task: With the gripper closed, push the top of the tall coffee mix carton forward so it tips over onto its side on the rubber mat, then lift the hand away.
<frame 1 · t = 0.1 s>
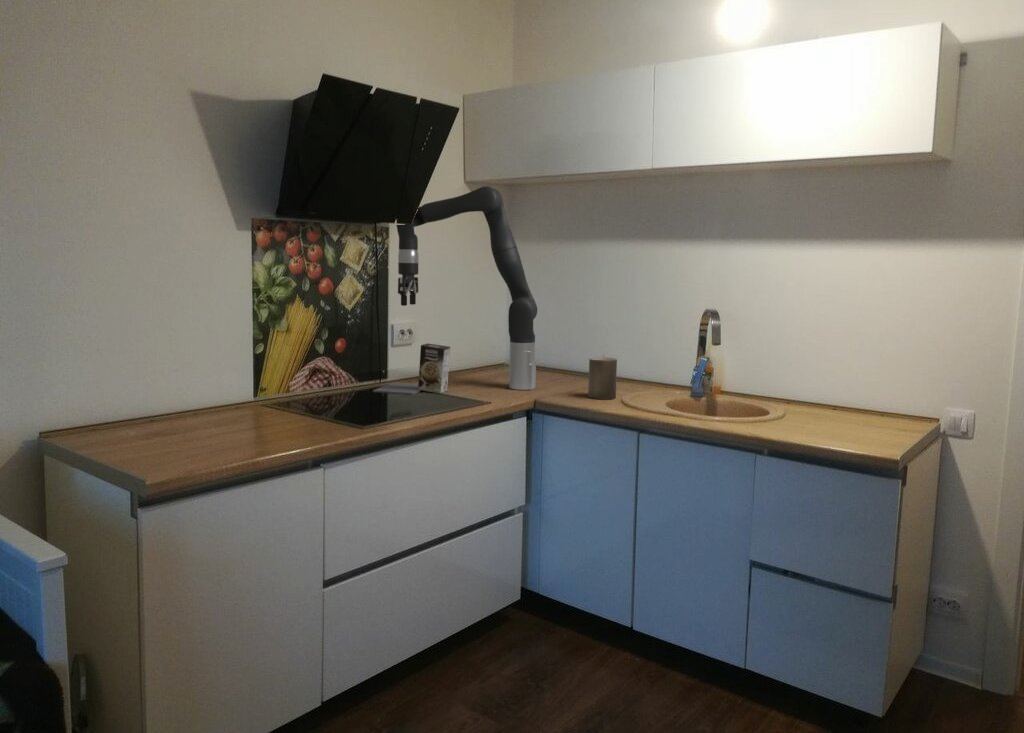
hand: (408, 305, 287), 29 cm above the worktop, fingers open, 8 cm apart
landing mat: (402, 389, 272), on the worktop
pillar candle: (601, 397, 264), on the worktop
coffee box: (432, 390, 270), on the worktop, touching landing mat
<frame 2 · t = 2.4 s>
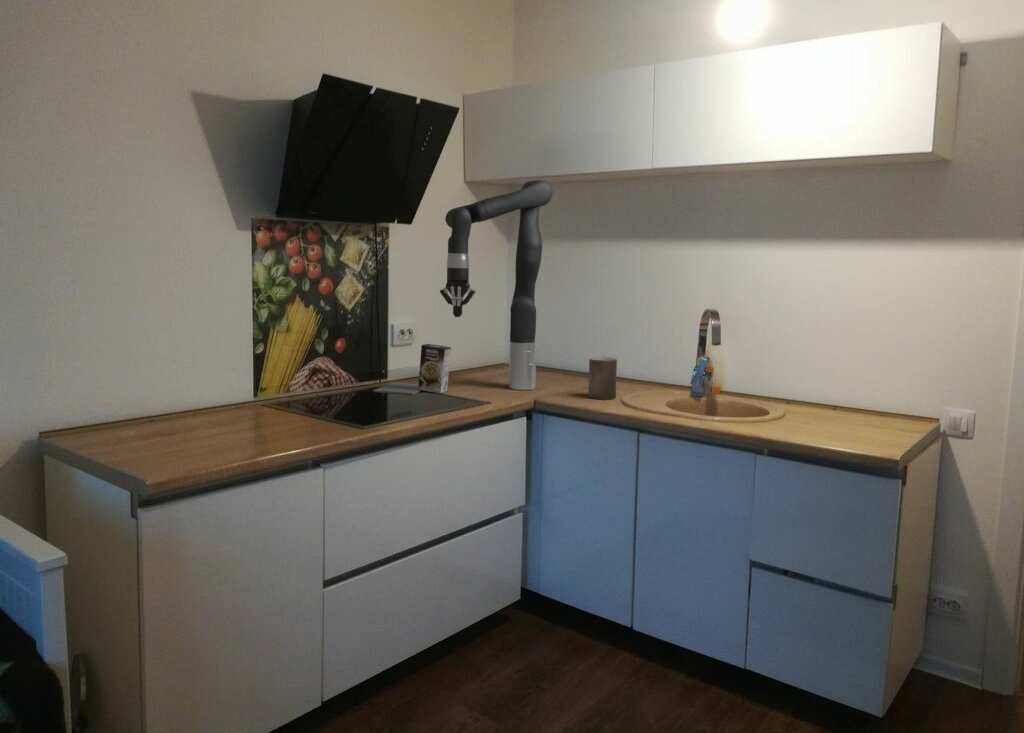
hand: (457, 316, 264), 27 cm above the worktop, fingers closed
nothing on the worktop moved.
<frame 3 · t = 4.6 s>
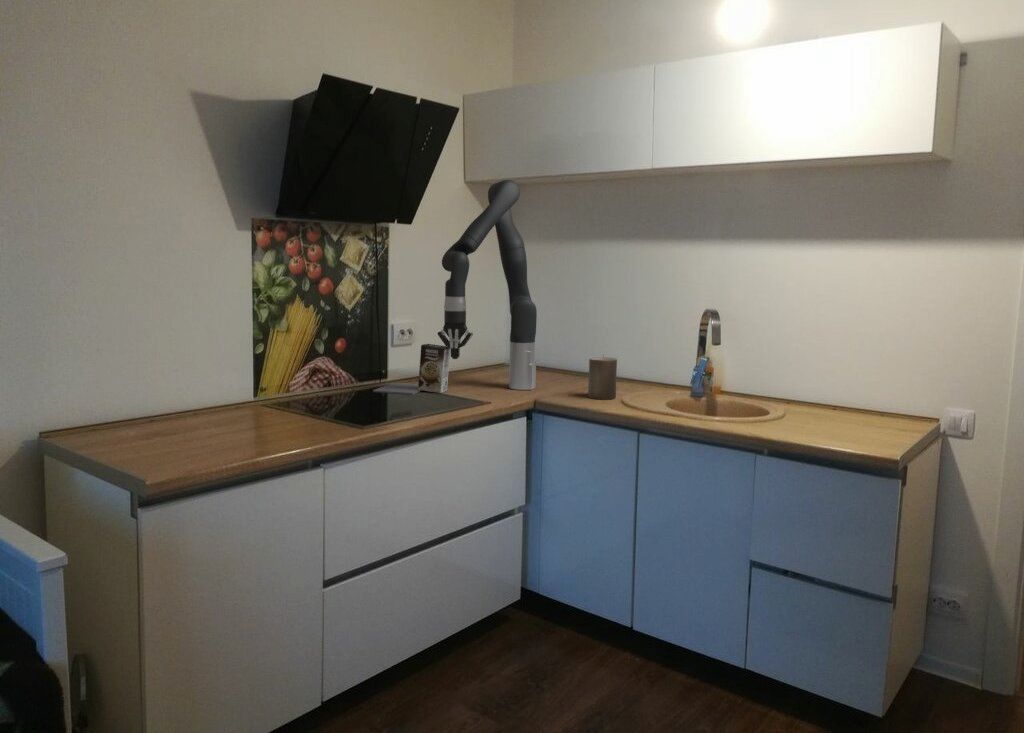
hand: (455, 358, 266), 12 cm above the worktop, fingers closed
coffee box: (432, 390, 270), on the worktop, touching gripper, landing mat
everything else where it was.
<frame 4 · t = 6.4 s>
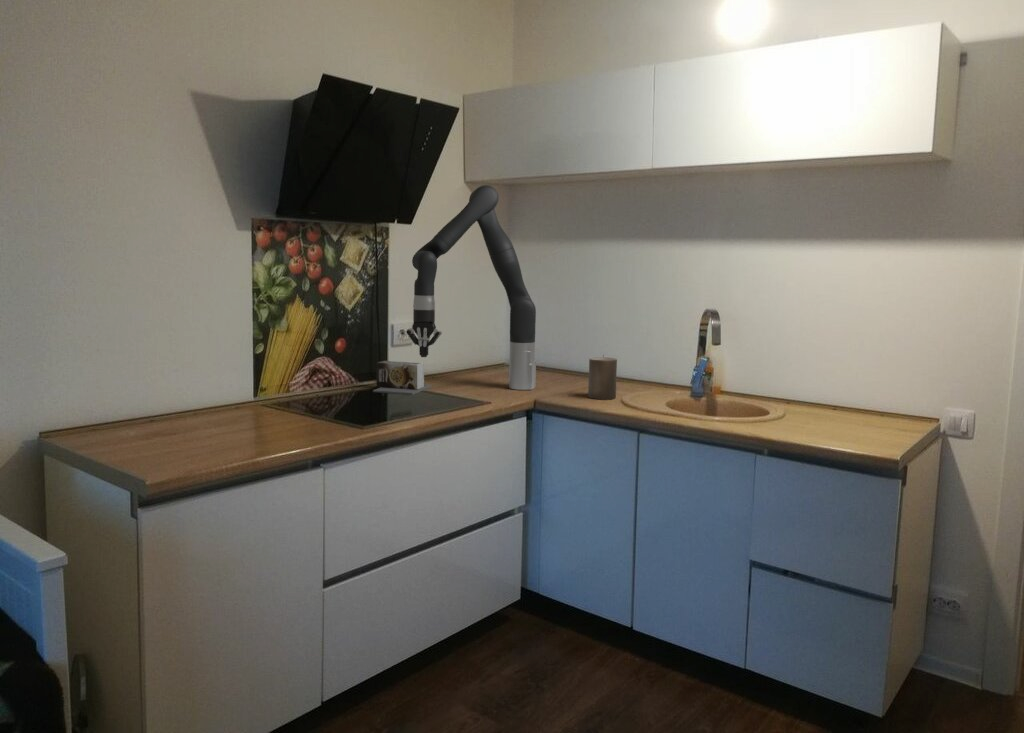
hand: (423, 357, 269), 12 cm above the worktop, fingers closed
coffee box: (421, 376, 270), point 5 cm above the worktop, touching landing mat
everything else where it was.
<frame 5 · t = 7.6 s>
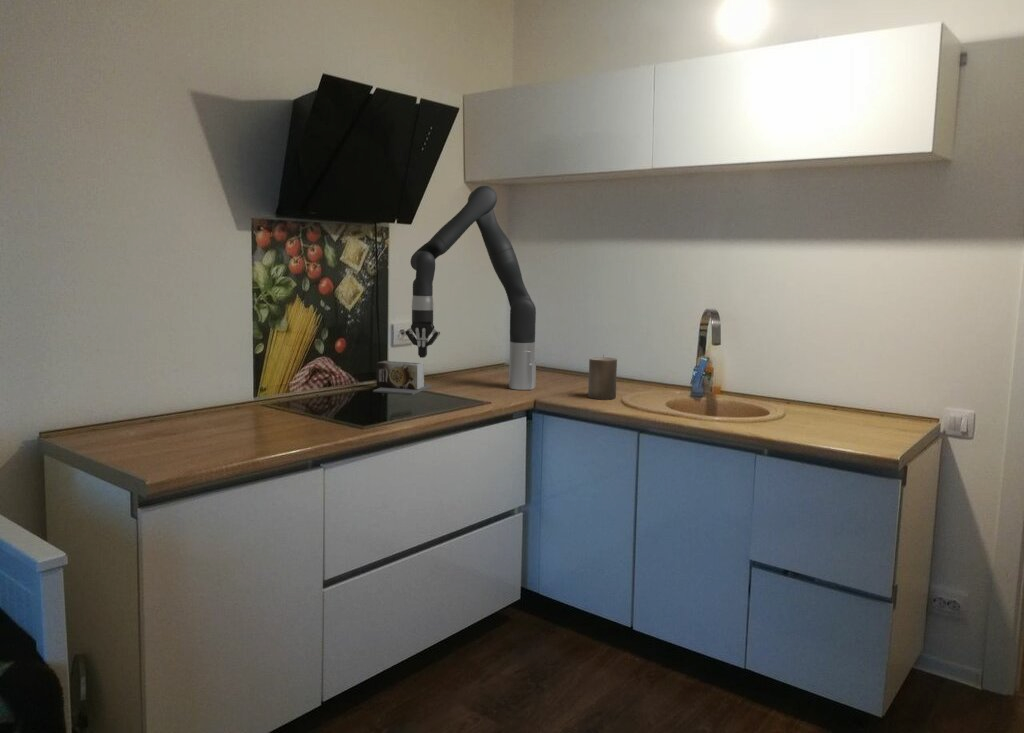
hand: (422, 357, 269), 12 cm above the worktop, fingers closed
nothing on the worktop moved.
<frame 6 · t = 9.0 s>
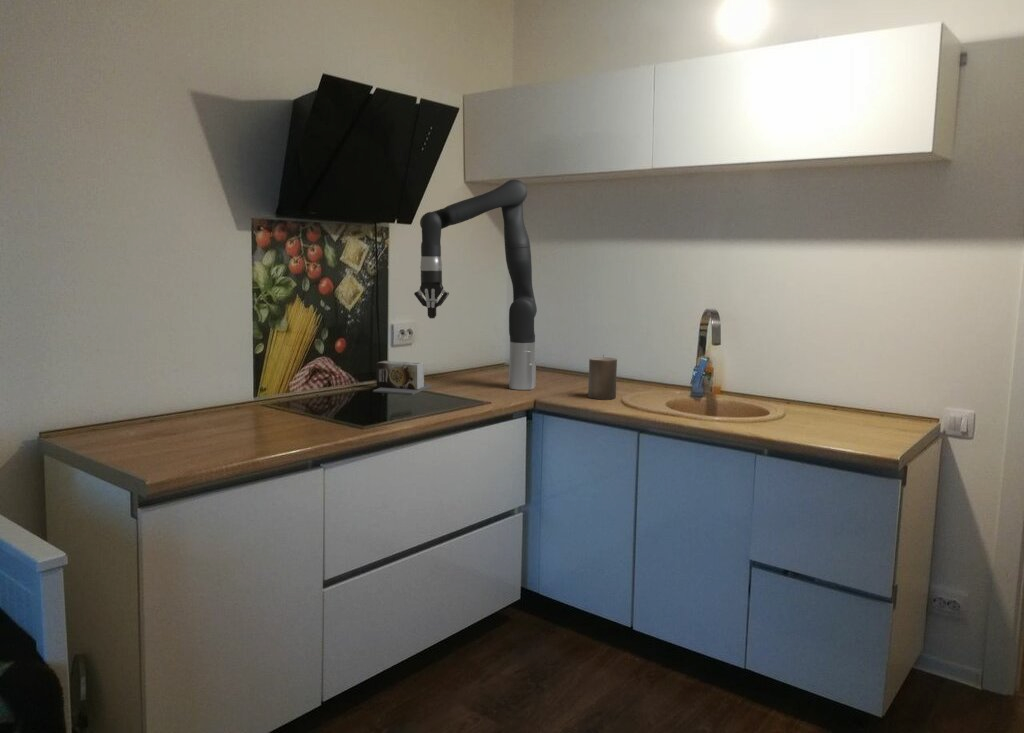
hand: (432, 318, 271), 26 cm above the worktop, fingers closed
nothing on the worktop moved.
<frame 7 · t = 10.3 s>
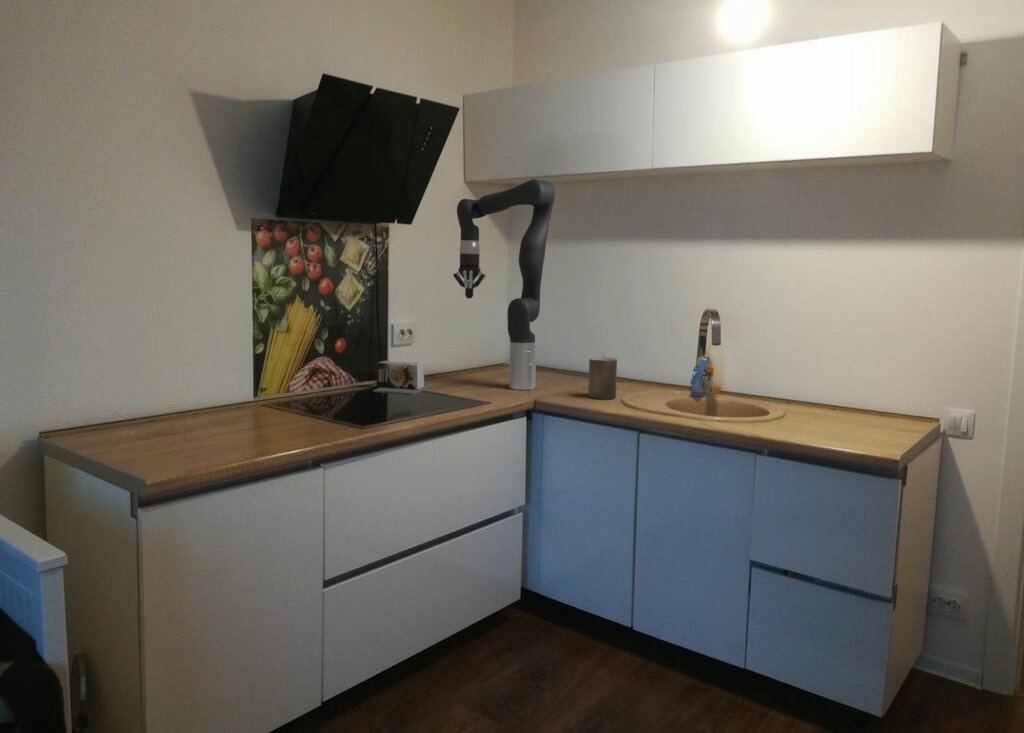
hand: (469, 298, 291), 32 cm above the worktop, fingers closed
nothing on the worktop moved.
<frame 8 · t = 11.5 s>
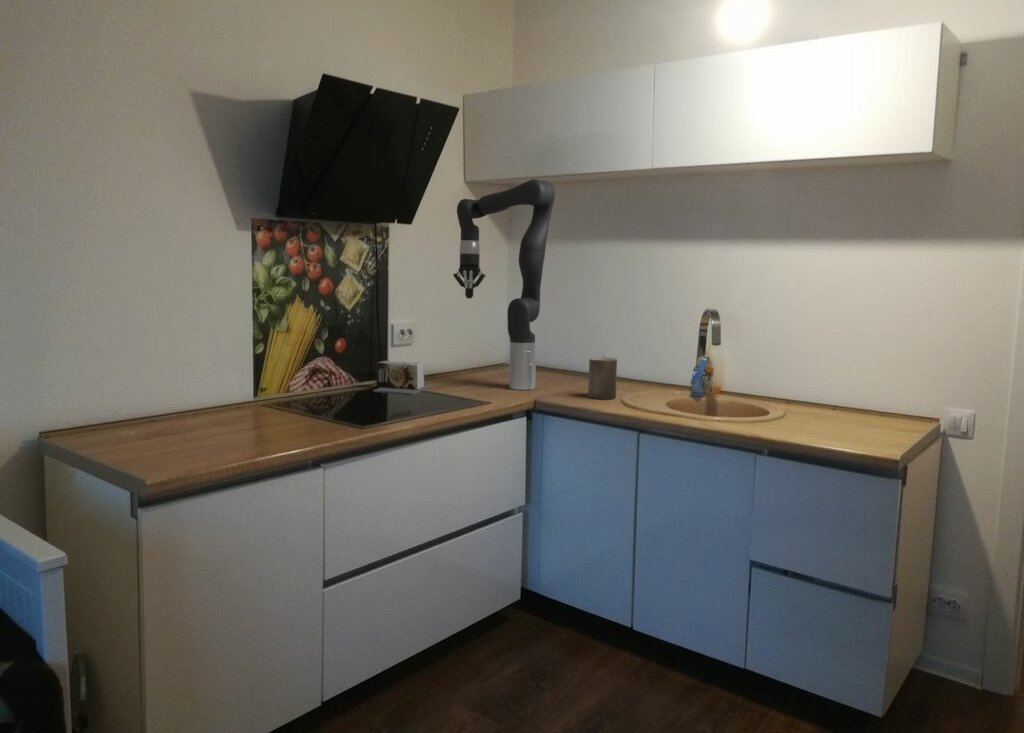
hand: (469, 298, 291), 32 cm above the worktop, fingers closed
nothing on the worktop moved.
at the end: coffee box tilted 91°; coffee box touching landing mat; the gripper is holding nothing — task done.
